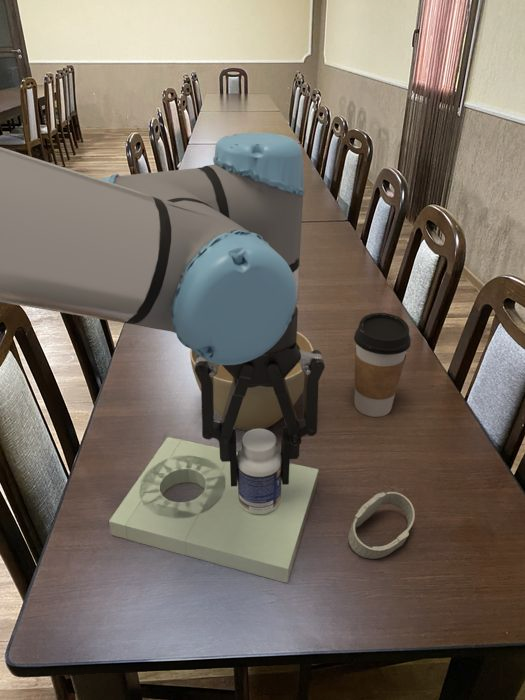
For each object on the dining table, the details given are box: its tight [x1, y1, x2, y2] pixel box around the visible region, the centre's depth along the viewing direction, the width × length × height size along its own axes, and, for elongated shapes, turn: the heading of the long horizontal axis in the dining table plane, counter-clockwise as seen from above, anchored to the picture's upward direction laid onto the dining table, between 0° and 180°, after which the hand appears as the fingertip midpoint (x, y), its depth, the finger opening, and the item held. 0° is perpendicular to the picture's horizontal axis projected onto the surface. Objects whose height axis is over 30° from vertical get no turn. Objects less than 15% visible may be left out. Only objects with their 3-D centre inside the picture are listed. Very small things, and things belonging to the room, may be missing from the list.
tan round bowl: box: [189, 331, 314, 432], centre depth 82 cm, size 18×18×12 cm
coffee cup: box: [353, 312, 412, 418], centre depth 83 cm, size 8×8×15 cm
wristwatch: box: [347, 491, 416, 560], centre depth 64 cm, size 9×6×5 cm
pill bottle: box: [237, 428, 282, 514], centre depth 64 cm, size 5×5×10 cm
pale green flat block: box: [108, 436, 319, 584], centre depth 68 cm, size 22×16×2 cm
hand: (259, 477), depth 65 cm, fingers closed on pill bottle, 5 cm apart
